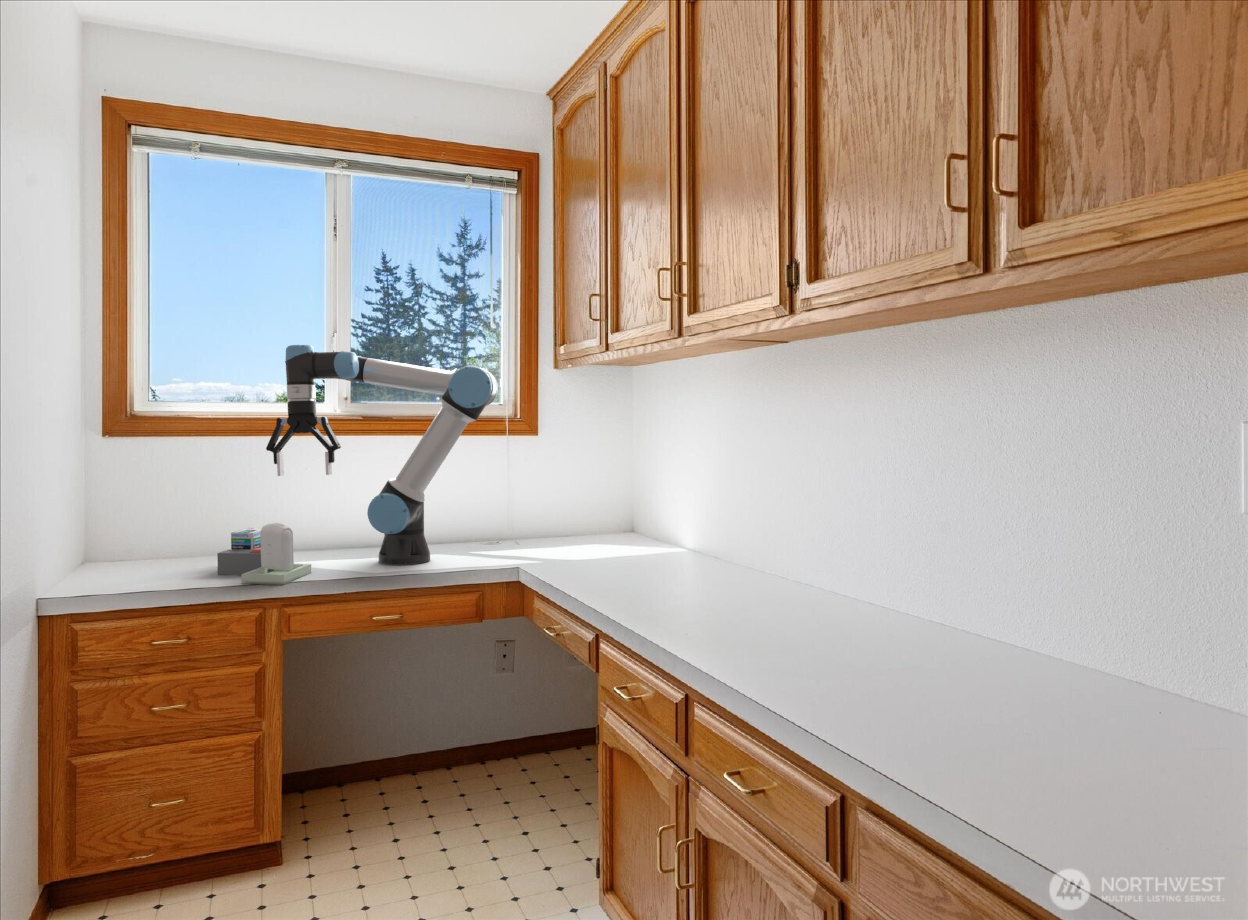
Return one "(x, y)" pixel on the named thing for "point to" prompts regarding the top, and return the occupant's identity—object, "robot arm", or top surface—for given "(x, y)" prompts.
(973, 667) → the top surface
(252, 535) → the light bulb box
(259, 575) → the pale green tray
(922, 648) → the top surface
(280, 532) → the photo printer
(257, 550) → the button
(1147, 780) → the top surface
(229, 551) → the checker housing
